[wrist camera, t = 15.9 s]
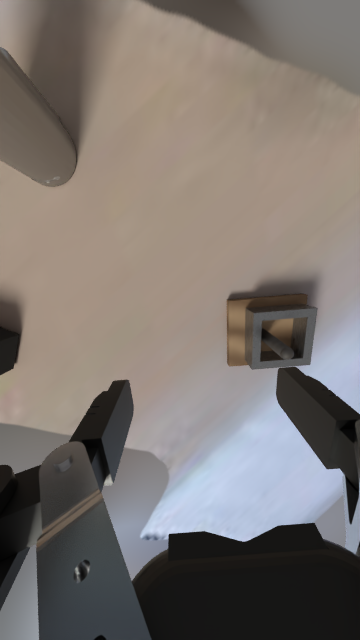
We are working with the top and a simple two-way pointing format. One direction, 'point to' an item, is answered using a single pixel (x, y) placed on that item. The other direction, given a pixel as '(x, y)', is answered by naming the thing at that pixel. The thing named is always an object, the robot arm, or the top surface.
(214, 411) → the top surface
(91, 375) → the top surface
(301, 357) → the link
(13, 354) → the toy
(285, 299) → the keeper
